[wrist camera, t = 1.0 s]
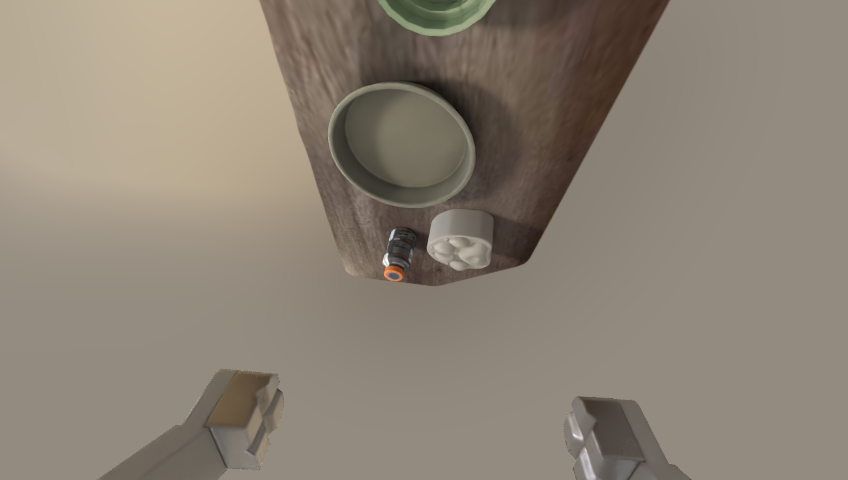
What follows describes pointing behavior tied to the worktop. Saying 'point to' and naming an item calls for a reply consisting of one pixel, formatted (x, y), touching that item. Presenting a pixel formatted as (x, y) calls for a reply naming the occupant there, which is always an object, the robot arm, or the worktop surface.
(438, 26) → the bowl
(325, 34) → the worktop surface
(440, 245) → the lumpy-topped squat cylinder
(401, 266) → the pill bottle
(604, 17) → the worktop surface
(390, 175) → the cake pan
